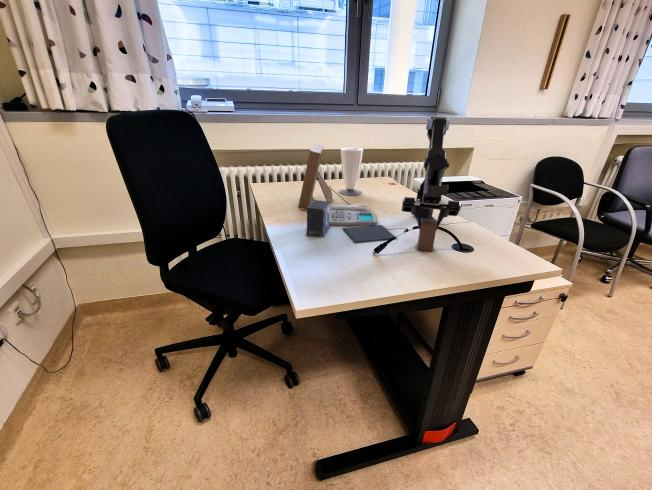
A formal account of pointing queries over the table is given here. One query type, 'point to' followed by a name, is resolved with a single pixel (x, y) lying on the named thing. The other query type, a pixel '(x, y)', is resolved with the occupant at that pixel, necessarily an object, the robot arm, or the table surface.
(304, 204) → the photo frame
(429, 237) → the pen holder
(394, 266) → the table surface
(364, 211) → the office telephone
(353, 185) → the cup
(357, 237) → the desk pad
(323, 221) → the small box
